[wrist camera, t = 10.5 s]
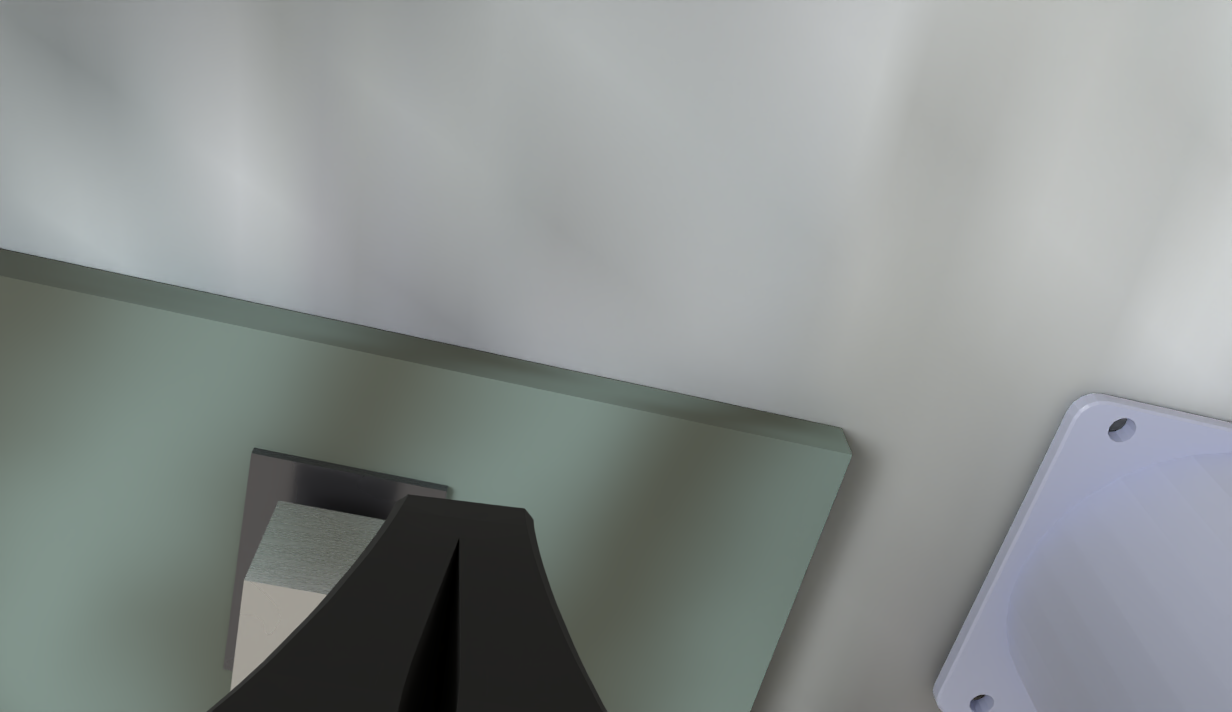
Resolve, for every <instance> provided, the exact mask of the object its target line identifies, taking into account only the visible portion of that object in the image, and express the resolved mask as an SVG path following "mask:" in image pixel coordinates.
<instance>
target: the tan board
mask: <svg viewBox="0 0 1232 712" xmlns="http://www.w3.org/2000/svg"><path fill="white" fill-rule="evenodd" d="M254 448H259V449H264V450H269V451H274V452H279V453H284V454H289V455H294V456H300V457H305V458H310V459H315V460H320V461H325V462H330V463H335V464H340V465H345V466H350V467H355V468H360V469H365V470H371V471H376V472H381V473H386V474H391V475H396V476H401V477H406V478H411V479H416V480H421V481H426V482H431V483H437V484H442V485H447V486H448V489H447V494H446V498H445V499H451V500H459V501H468V502H476V503H484V504H492V505H501V506H509V507H517V508H525V509H526V511H527V512H528V513H529V514H530V515H531V517H532V518H533V519H534V528H535V534H536V539H537V543H538V547H539V551H540V555H541V559H542V562H543V566H544V569H545V572H546V575H547V578H548V581H549V584H550V587H551V590H552V592H553V595H554V598H555V600H556V603H557V606H558V608H559V611H560V613H561V615H562V618H563V620H564V622H565V625H566V627H567V630H568V632H569V634H570V637H571V639H572V641H573V644H574V646H575V648H576V651H577V653H578V655H579V657H580V659H581V661H582V663H583V665H584V668H585V670H586V672H587V674H588V676H589V678H590V679H591V681H592V683H593V685H594V687H595V689H596V691H597V693H598V695H599V697H600V699H601V701H602V703H603V705H604V706H605V708H606V710H607V712H750V711H751V708H752V706H753V703H754V701H755V698H756V696H757V693H758V691H759V688H760V686H761V683H762V681H763V678H764V676H765V673H766V671H767V668H768V666H769V663H770V661H771V658H772V656H773V653H774V651H775V648H776V646H777V643H778V641H779V638H780V636H781V633H782V630H783V628H784V625H785V623H786V620H787V618H788V615H789V613H790V610H791V608H792V605H793V603H794V600H795V598H796V595H797V593H798V590H799V588H800V585H801V583H802V580H803V578H804V575H805V573H806V570H807V568H808V565H809V563H810V560H811V558H812V555H813V553H814V550H815V548H816V545H817V543H818V540H819V538H820V535H821V533H822V530H823V528H824V525H825V523H826V520H827V518H828V515H829V513H830V510H831V508H832V505H833V503H834V500H835V498H836V495H837V493H838V490H839V487H840V485H841V482H842V480H843V477H844V475H845V472H846V470H847V467H848V465H849V462H850V460H851V457H852V453H851V450H850V448H849V445H848V443H847V440H846V438H845V435H844V433H843V430H842V428H838V427H833V426H829V425H824V424H819V423H815V422H810V421H805V420H801V419H796V418H791V417H786V416H782V415H777V414H772V413H768V412H763V411H758V410H754V409H749V408H744V407H740V406H735V405H730V404H726V403H721V402H716V401H711V400H707V399H702V398H697V397H693V396H688V395H683V394H679V393H674V392H669V391H665V390H660V389H655V388H651V387H646V386H641V385H636V384H632V383H627V382H622V381H618V380H613V379H608V378H604V377H599V376H594V375H590V374H585V373H580V372H576V371H571V370H566V369H561V368H557V367H552V366H547V365H543V364H538V363H533V362H529V361H524V360H519V359H515V358H510V357H505V356H501V355H496V354H491V353H486V352H482V351H477V350H472V349H468V348H463V347H458V346H454V345H449V344H444V343H440V342H435V341H430V340H426V339H421V338H416V337H411V336H407V335H402V334H397V333H393V332H388V331H383V330H379V329H374V328H369V327H365V326H360V325H355V324H351V323H346V322H341V321H336V320H332V319H327V318H322V317H318V316H313V315H308V314H304V313H299V312H294V311H290V310H285V309H280V308H276V307H271V306H266V305H261V304H257V303H252V302H247V301H243V300H238V299H233V298H229V297H224V296H219V295H215V294H210V293H205V292H201V291H196V290H191V289H186V288H182V287H177V286H172V285H168V284H163V283H158V282H154V281H149V280H144V279H140V278H135V277H130V276H126V275H121V274H116V273H111V272H107V271H102V270H97V269H93V268H88V267H83V266H79V265H74V264H69V263H65V262H60V261H55V260H51V259H46V258H41V257H36V256H32V255H27V254H22V253H18V252H13V251H8V250H4V249H0V712H207V711H208V710H209V709H210V708H211V707H213V706H214V705H215V704H216V703H217V702H219V701H220V700H221V699H222V698H223V697H224V696H226V695H227V694H228V693H229V692H230V690H231V682H232V674H233V671H230V670H224V669H223V666H224V658H225V650H226V643H227V635H228V628H229V620H230V612H231V605H232V597H233V589H234V582H235V574H236V566H237V559H238V551H239V543H240V536H241V528H242V520H243V513H244V505H245V498H246V490H247V482H248V475H249V467H250V459H251V453H252V451H253V449H254Z"/></svg>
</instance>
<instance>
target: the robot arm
mask: <svg viewBox="0 0 1232 712" xmlns="http://www.w3.org/2000/svg"><path fill="white" fill-rule="evenodd" d="M1121 418H1127V421H1126V424H1125V425H1124V426H1123V427H1122V428H1121V429H1119V430H1117V431H1115V432H1108V431H1109V427H1110V426H1111V425H1112V424H1113V422H1115V421H1117V420H1119V419H1121ZM933 694H934V698H935V700H936V703H937V705H938V708H939V709H940V710H941V711H942V712H1232V423H1231V422H1226V421H1222V420H1217V419H1213V418H1208V417H1204V416H1199V415H1195V414H1190V413H1186V412H1182V411H1177V410H1173V409H1168V408H1164V407H1159V406H1155V405H1150V404H1146V403H1141V402H1137V401H1133V400H1128V399H1124V398H1119V397H1115V396H1110V395H1106V394H1099V393H1091V394H1088V395H1085V396H1081V397H1080V398H1079V399H1077V400H1076V401H1074V402H1073V403H1072V404H1071V406H1070V407H1069V408H1068V410H1067V411H1066V414H1065V416H1064V418H1063V420H1062V422H1061V424H1060V426H1059V428H1058V430H1057V432H1056V434H1055V436H1054V438H1053V440H1052V442H1051V445H1050V447H1049V449H1048V451H1047V453H1046V455H1045V457H1044V459H1043V461H1042V463H1041V465H1040V467H1039V469H1038V471H1037V473H1036V475H1035V478H1034V480H1033V482H1032V484H1031V486H1030V488H1029V490H1028V492H1027V494H1026V496H1025V498H1024V500H1023V502H1022V504H1021V506H1020V508H1019V511H1018V513H1017V515H1016V517H1015V519H1014V521H1013V523H1012V525H1011V527H1010V529H1009V531H1008V533H1007V535H1006V537H1005V539H1004V542H1003V544H1002V546H1001V548H1000V550H999V552H998V554H997V556H996V558H995V560H994V562H993V564H992V566H991V568H990V570H989V572H988V575H987V577H986V579H985V581H984V583H983V585H982V587H981V589H980V591H979V593H978V595H977V597H976V599H975V601H974V603H973V605H972V608H971V610H970V612H969V614H968V616H967V618H966V620H965V622H964V624H963V626H962V628H961V630H960V632H959V634H958V636H957V638H956V641H955V643H954V645H953V647H952V649H951V651H950V653H949V655H948V657H947V659H946V661H945V663H944V665H943V667H942V669H941V672H940V674H939V676H938V678H937V680H936V682H935V684H934V688H933ZM978 695H985V696H984V697H983V698H981V699H978V700H972V699H973V698H974V697H976V696H978ZM207 712H607V710H606V708H605V706H604V705H603V703H602V701H601V699H600V697H599V695H598V693H597V691H596V689H595V687H594V685H593V683H592V681H591V679H590V678H589V676H588V674H587V672H586V670H585V668H584V665H583V663H582V661H581V659H580V657H579V655H578V653H577V651H576V648H575V646H574V644H573V641H572V639H571V637H570V634H569V632H568V630H567V627H566V625H565V622H564V620H563V618H562V615H561V613H560V611H559V608H558V606H557V603H556V600H555V598H554V595H553V592H552V590H551V587H550V584H549V581H548V578H547V575H546V572H545V569H544V566H543V562H542V559H541V555H540V551H539V547H538V543H537V539H536V534H535V528H534V519H533V518H532V517H531V515H530V514H529V513H528V512H527V511H526V509H525V508H517V507H509V506H501V505H492V504H484V503H476V502H468V501H459V500H451V499H443V498H435V497H426V496H418V495H410V494H408V495H406V496H405V497H403V498H402V499H400V500H399V501H397V502H396V503H395V505H394V507H393V509H392V510H391V512H390V514H389V516H388V517H387V519H386V520H385V522H384V523H383V525H382V526H381V528H380V529H379V531H378V532H377V533H376V535H375V536H374V538H373V539H372V540H371V542H370V543H369V544H368V546H367V547H366V548H365V550H364V551H363V552H362V553H361V555H360V556H359V557H358V559H357V560H356V561H355V562H354V564H353V565H352V566H351V567H350V569H349V570H348V571H347V572H346V573H345V574H344V576H343V577H342V578H341V579H340V580H339V581H338V583H337V584H336V585H335V586H334V587H333V588H332V590H331V591H330V592H329V593H328V594H327V595H326V597H325V598H324V599H323V600H322V601H321V602H320V604H319V605H318V606H317V607H316V608H315V609H314V610H313V611H312V612H311V613H310V615H309V616H308V617H307V618H306V619H305V620H304V621H303V622H302V623H301V624H300V625H299V626H298V627H297V628H296V629H295V630H294V631H293V632H292V633H291V634H290V635H289V636H288V637H287V638H286V639H285V640H284V641H283V642H282V643H281V644H280V645H279V646H278V647H277V648H276V649H275V650H274V651H273V652H272V653H271V654H270V655H269V656H268V657H267V658H266V659H265V660H264V661H263V662H262V663H261V664H260V665H259V666H258V667H257V668H256V669H255V670H254V671H252V672H251V673H250V674H249V675H248V676H247V677H246V678H245V679H244V680H243V681H241V682H240V683H239V684H238V685H237V686H236V687H235V688H234V689H232V690H231V691H230V692H229V693H228V694H227V695H226V696H224V697H223V698H222V699H221V700H220V701H219V702H217V703H216V704H215V705H214V706H213V707H211V708H210V709H209V710H208V711H207Z"/></svg>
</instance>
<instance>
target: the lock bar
mask: <svg viewBox="0 0 1232 712" xmlns="http://www.w3.org/2000/svg"><path fill="white" fill-rule="evenodd" d="M384 522H385V520H382V519H376V518H371V517H365V516H360V515H354V514H349V513H343V512H338V511H333V510H327V509H322V508H316V507H311V506H305V505H300V504H294V503H289V502H283V501H278V503H277V505H276V508H275V510H274V512H273V515H272V517H271V519H270V522H269V524H268V526H267V528H266V531H265V533H264V535H263V538H262V540H261V542H260V544H259V547H258V549H257V551H256V554H255V556H254V558H253V561H252V563H251V565H250V567H249V570H248V572H247V574H246V577H245V579H244V584H243V592H242V600H241V608H240V617H239V625H238V633H237V641H236V649H235V658H234V666H233V674H232V682H231V690H232V689H234V688H235V687H236V686H237V685H238V684H239V683H240V682H241V681H243V680H244V679H245V678H246V677H247V676H248V675H249V674H250V673H251V672H252V671H254V670H255V669H256V668H257V667H258V666H259V665H260V664H261V663H262V662H263V661H264V660H265V659H266V658H267V657H268V656H269V655H270V654H271V653H272V652H273V651H274V650H275V649H276V648H277V647H278V646H279V645H280V644H281V643H282V642H283V641H284V640H285V639H286V638H287V637H288V636H289V635H290V634H291V633H292V632H293V631H294V630H295V629H296V628H297V627H298V626H299V625H300V624H301V623H302V622H303V621H304V620H305V619H306V618H307V617H308V616H309V615H310V613H311V612H312V611H313V610H314V609H315V608H316V607H317V606H318V605H319V604H320V602H321V601H322V600H323V599H324V598H325V597H326V595H327V594H328V593H329V592H330V591H331V590H332V588H333V587H334V586H335V585H336V584H337V583H338V581H339V580H340V579H341V578H342V577H343V576H344V574H345V573H346V572H347V571H348V570H349V569H350V567H351V566H352V565H353V564H354V562H355V561H356V560H357V559H358V557H359V556H360V555H361V553H362V552H363V551H364V550H365V548H366V547H367V546H368V544H369V543H370V542H371V540H372V539H373V538H374V536H375V535H376V533H377V532H378V531H379V529H380V528H381V526H382V525H383V523H384ZM231 690H230V691H231Z"/></svg>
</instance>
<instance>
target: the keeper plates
mask: <svg viewBox="0 0 1232 712" xmlns="http://www.w3.org/2000/svg"><path fill="white" fill-rule="evenodd" d="M447 489H448V486H447V485H442V484H437V483H431V482H426V481H421V480H416V479H411V478H406V477H401V476H396V475H391V474H386V473H381V472H376V471H371V470H365V469H360V468H355V467H350V466H345V465H340V464H335V463H330V462H325V461H320V460H315V459H310V458H305V457H300V456H294V455H289V454H284V453H279V452H274V451H269V450H264V449H259V448H254V449H253V451H252V453H251V459H250V467H249V475H248V482H247V490H246V498H245V505H244V513H243V520H242V528H241V536H240V543H239V551H238V559H237V566H236V574H235V582H234V589H233V597H232V605H231V612H230V620H229V628H228V635H227V643H226V650H225V658H224V666H223V669H224V670H230V671H233V666H234V658H235V649H236V641H237V633H238V625H239V617H240V608H241V600H242V592H243V584H244V579H245V577H246V574H247V572H248V570H249V567H250V565H251V563H252V561H253V558H254V556H255V554H256V551H257V549H258V547H259V544H260V542H261V540H262V538H263V535H264V533H265V531H266V528H267V526H268V524H269V522H270V519H271V517H272V515H273V512H274V510H275V508H276V505H277V503H278V501H283V502H289V503H294V504H300V505H305V506H311V507H316V508H322V509H327V510H333V511H338V512H343V513H349V514H354V515H360V516H365V517H371V518H376V519H382V520H386V519H387V517H388V516H389V514H390V512H391V510H392V509H393V507H394V505H395V503H396V502H397V501H399V500H400V499H402V498H403V497H405V496H406V495H408V494H410V495H418V496H426V497H435V498H443V499H445V498H446V494H447Z"/></svg>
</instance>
